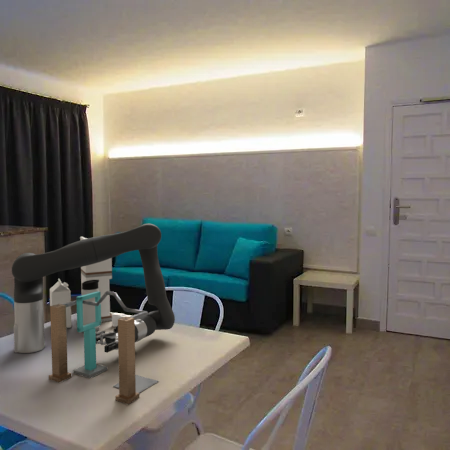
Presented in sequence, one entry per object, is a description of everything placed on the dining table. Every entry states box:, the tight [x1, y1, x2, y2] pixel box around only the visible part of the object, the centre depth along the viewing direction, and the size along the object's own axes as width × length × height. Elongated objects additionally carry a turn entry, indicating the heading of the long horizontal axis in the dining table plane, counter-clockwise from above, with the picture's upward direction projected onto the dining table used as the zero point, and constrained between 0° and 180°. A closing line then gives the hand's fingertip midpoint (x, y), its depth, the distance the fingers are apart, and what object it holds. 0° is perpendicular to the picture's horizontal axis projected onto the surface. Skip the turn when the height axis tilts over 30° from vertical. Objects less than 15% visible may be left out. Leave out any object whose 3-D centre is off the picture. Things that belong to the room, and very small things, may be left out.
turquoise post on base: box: [73, 291, 108, 379], centre depth 135 cm, size 8×7×24 cm
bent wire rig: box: [48, 290, 149, 405], centre depth 126 cm, size 30×11×26 cm, turn 60°
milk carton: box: [49, 278, 73, 329], centre depth 180 cm, size 7×7×19 cm
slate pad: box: [112, 374, 160, 394], centre depth 127 cm, size 9×9×1 cm
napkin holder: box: [111, 312, 131, 327], centre depth 180 cm, size 15×11×6 cm
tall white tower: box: [79, 236, 113, 323], centre depth 190 cm, size 11×11×35 cm
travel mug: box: [81, 280, 100, 332], centre depth 175 cm, size 6×7×20 cm
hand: (95, 346), depth 137 cm, fingers open, 8 cm apart
